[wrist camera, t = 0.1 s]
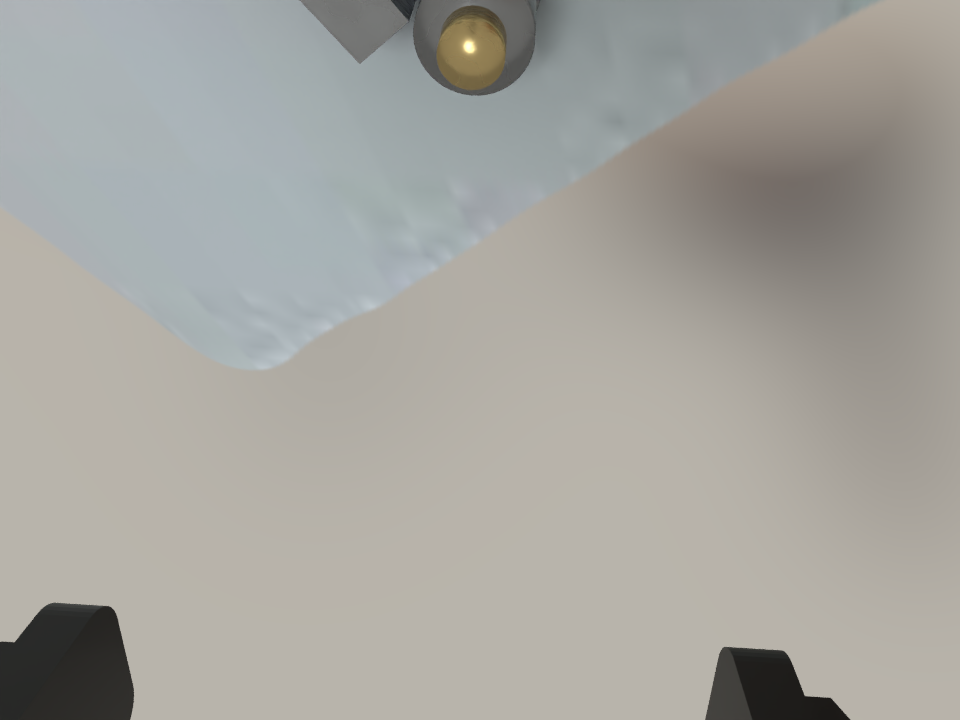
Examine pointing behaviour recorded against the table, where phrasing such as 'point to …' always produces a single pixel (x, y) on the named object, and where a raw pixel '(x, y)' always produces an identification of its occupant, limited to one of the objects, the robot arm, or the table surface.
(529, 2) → the bar
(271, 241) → the table surface
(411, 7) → the tong base
